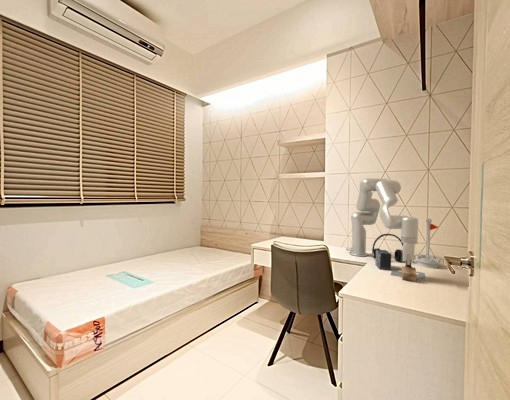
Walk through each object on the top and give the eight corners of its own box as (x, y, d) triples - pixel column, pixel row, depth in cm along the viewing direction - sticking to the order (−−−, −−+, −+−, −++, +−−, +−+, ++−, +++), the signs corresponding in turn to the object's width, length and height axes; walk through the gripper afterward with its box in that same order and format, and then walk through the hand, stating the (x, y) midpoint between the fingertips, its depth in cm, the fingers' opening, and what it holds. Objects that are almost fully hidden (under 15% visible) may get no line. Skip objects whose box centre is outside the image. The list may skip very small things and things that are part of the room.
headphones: (374, 261, 168) (374, 234, 168) (371, 258, 175) (371, 232, 175) (406, 263, 165) (407, 235, 165) (401, 260, 172) (402, 233, 171)
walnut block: (402, 280, 131) (402, 272, 129) (401, 274, 136) (402, 266, 134) (415, 282, 128) (416, 274, 126) (414, 275, 133) (415, 267, 131)
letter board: (390, 276, 138) (390, 275, 138) (392, 269, 151) (392, 267, 151) (425, 282, 129) (425, 281, 129) (424, 273, 143) (424, 272, 143)
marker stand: (415, 266, 158) (416, 218, 157) (415, 261, 169) (416, 217, 168) (440, 269, 151) (442, 220, 150) (439, 264, 162) (441, 218, 161)
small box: (391, 271, 146) (392, 253, 146) (379, 270, 148) (380, 253, 147) (386, 266, 157) (386, 249, 156) (374, 265, 158) (375, 249, 158)
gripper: (401, 237, 143) (400, 269, 144) (400, 241, 130) (399, 276, 131) (417, 238, 139) (416, 271, 140) (417, 243, 126) (416, 279, 127)
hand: (408, 273), depth 135 cm, fingers closed
